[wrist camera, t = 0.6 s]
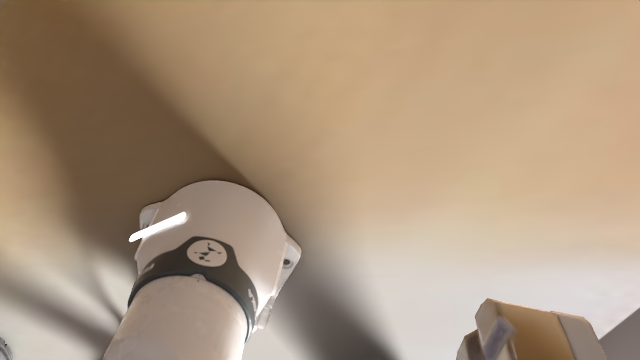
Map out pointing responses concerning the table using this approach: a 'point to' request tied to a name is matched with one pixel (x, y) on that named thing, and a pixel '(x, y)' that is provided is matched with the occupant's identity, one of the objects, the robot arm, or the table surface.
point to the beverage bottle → (5, 351)
